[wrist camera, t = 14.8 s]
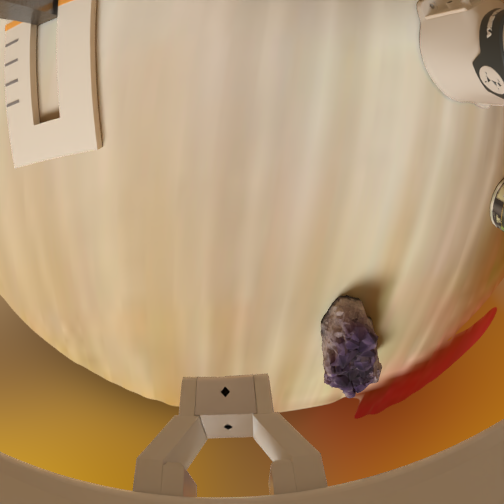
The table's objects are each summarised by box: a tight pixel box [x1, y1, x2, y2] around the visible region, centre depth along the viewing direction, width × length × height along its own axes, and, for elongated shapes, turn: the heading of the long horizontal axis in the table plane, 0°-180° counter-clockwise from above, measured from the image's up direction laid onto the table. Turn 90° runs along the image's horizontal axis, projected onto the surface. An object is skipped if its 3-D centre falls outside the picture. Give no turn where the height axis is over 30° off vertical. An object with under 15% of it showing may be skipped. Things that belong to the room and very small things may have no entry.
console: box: [4, 0, 102, 168], centre depth 24 cm, size 28×14×2 cm, turn 1°
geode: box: [321, 295, 382, 398], centre depth 47 cm, size 20×12×10 cm, turn 17°
